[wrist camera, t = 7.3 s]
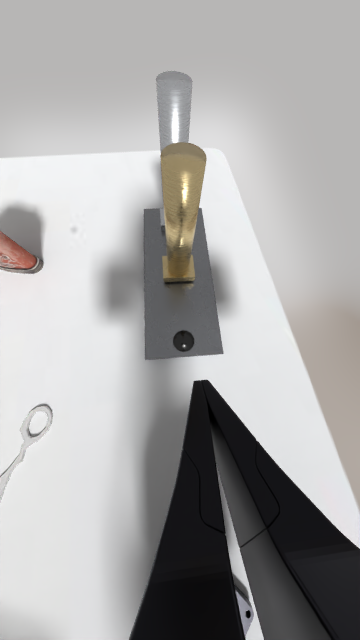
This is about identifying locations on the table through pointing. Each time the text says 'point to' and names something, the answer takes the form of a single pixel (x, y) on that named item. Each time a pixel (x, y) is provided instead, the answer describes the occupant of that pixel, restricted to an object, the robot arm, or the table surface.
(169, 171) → the gold tapered block
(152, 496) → the table surface
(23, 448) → the scissors
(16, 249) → the lighter
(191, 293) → the bolt plate
